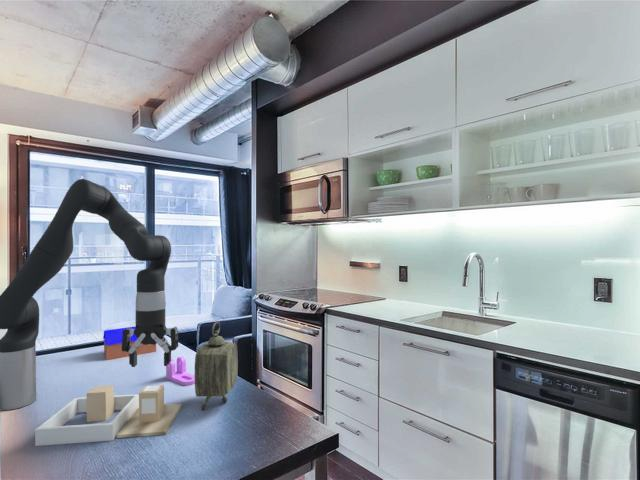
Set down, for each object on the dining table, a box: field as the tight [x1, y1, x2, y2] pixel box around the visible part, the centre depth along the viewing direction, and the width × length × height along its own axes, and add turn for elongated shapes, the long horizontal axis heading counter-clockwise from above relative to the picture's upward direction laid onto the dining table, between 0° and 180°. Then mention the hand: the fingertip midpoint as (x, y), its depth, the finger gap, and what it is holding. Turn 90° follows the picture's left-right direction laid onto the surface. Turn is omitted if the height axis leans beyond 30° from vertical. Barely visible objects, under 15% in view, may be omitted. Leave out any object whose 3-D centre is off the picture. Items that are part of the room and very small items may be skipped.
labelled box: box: [138, 384, 165, 423], centre depth 101 cm, size 5×5×8 cm
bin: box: [34, 393, 139, 447], centre depth 99 cm, size 18×18×4 cm
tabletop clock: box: [194, 320, 239, 411], centre depth 112 cm, size 14×9×25 cm, turn 178°
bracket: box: [165, 355, 195, 387], centre depth 130 cm, size 13×6×7 cm, turn 53°
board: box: [116, 403, 183, 439], centre depth 101 cm, size 12×16×1 cm
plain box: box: [86, 384, 115, 423], centre depth 104 cm, size 5×5×8 cm
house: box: [102, 325, 157, 361], centre depth 162 cm, size 12×20×12 cm, turn 125°
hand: (150, 365), depth 100 cm, fingers open, 8 cm apart
